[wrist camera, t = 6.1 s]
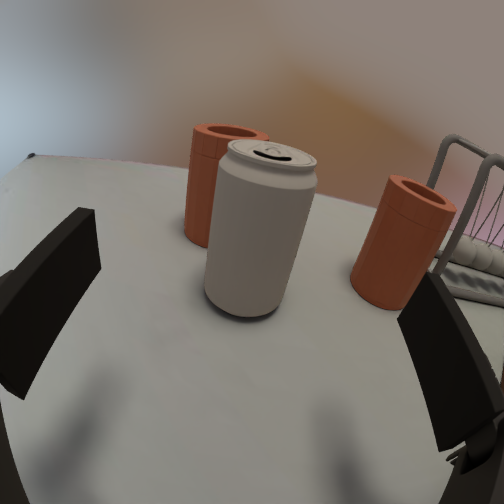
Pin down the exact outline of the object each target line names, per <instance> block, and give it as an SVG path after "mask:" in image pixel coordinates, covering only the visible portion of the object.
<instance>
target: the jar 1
mask: <svg viewBox="0 0 504 504" xmlns="http://www.w3.org/2000/svg"><path fill="white" fill-rule="evenodd" d="M239 139H252V140H262V141H268V142H269V136H267V135H266V134H265V133H262V132H260V131H257V130H253V129H250V128H246V127H241V126H235V125H229V124H228V125H227V124H200V125H197V126H195V127H194V130H193V138H192V147H191V155H190V164H189V174H188V184H187V196H186V208H185V221H184V226H185V234H186V236H187V237H188V238H189V239H190V240H191V241H192V242H194V243H195V244H197V245H200V246H202V247H205V248H208V243H209V234H210V226H211V217H212V209H213V202H214V194H215V187H216V179H217V172H218V165H219V161H220V159H221V158H222V157H223V156H224V155H225V154H226V153H227V152H228V149H227V146H228V143H229V142H230V141H233V140H239Z"/></svg>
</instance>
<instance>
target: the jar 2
mask: <svg viewBox="0 0 504 504" xmlns="http://www.w3.org/2000/svg"><path fill="white" fill-rule="evenodd" d="M456 211H457V209H456V207H455V206H454V205H453V204H452V203H451V202H450V201H449V200H448V199H447V198H445V197H444V196H442V195H441V194H439V193H438V192H436V191H435V190H433V189H431V188H429V187H427V186H425V185H423V184H421V183H419V182H417V181H414V180H412V179H409V178H406V177H402V176H398V175H390V176H389V179H388V182H387V184H386V187H385V190H384V193H383V196H382V198H381V201H380V203H379V206H378V209H377V211H376V214H375V217H374V219H373V222H372V224H371V227H370V229H369V232H368V234H367V236H366V239H365V241H364V244H363V246H362V248H361V251H360V253H359V255H358V258H357V260H356V262H355V265H354V267H353V270H352V272H351V276H350V279H351V283H352V285H353V287H354V289H355V290H356V291H357V292H358V293H359V294H360V295H361V296H362V297H363V298H364V299H365V300H367V301H368V302H370V303H371V304H373V305H375V306H377V307H380V308H383V309H387V310H399V309H402V308H404V307H405V306H406V304H407V303H408V301H409V299H410V298H411V296H412V294H413V293H414V291H415V289H416V288H417V286H418V284H419V283H420V281H421V279H422V277H423V276H424V274H425V272H427V270H428V268H429V266H430V264H431V263H432V261H433V259H434V257H435V255H436V253H437V251H438V249H439V247H440V245H441V243H442V241H443V239H444V237H445V235H446V233H447V231H448V229H449V227H450V225H451V222H452V220H453V218H454V216H455V214H456Z"/></svg>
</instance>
